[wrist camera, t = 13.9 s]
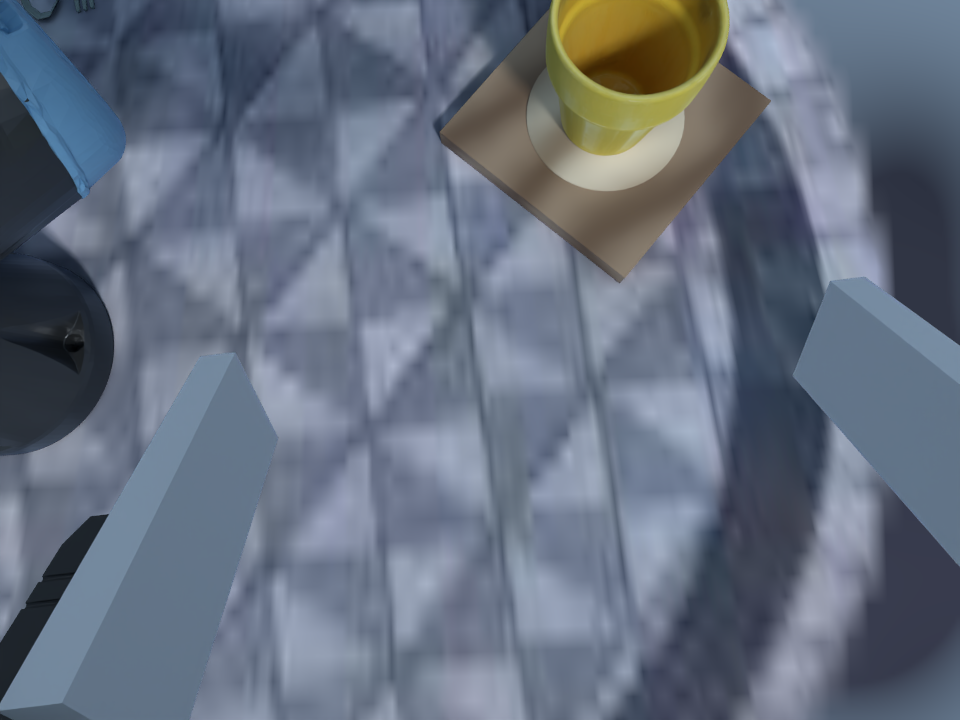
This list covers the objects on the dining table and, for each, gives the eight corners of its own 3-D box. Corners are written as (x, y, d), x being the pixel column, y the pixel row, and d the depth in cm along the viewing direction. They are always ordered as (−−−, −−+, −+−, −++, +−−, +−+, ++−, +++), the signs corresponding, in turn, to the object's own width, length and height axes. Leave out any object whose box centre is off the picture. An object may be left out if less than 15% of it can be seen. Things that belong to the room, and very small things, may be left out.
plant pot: (515, 154, 38) (523, 65, 28) (561, 36, 39) (585, -89, 29) (645, 200, 38) (698, 124, 28) (689, 79, 39) (756, -35, 29)
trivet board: (441, 142, 40) (439, 130, 38) (582, -18, 41) (586, -35, 40) (619, 283, 39) (625, 277, 37) (760, 112, 40) (772, 99, 38)
